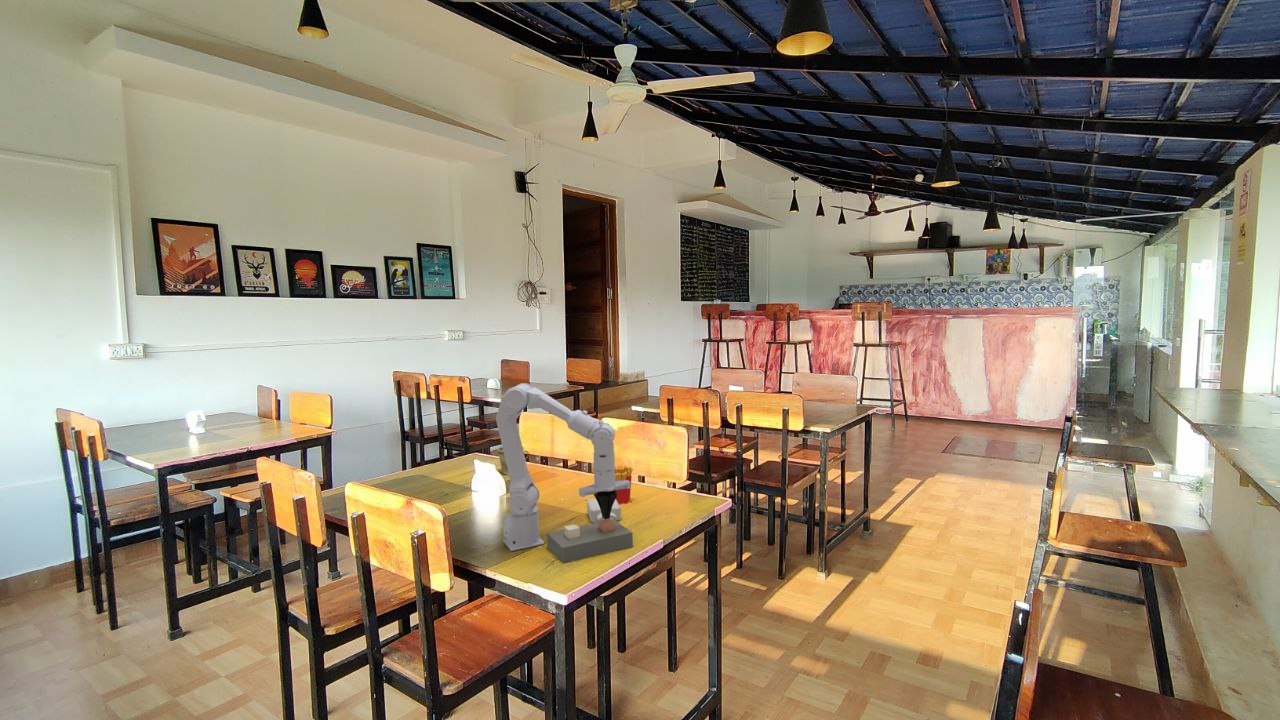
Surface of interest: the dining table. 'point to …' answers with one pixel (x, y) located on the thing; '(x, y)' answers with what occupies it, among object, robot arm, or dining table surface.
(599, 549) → the key box
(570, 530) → the offwhite key
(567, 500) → the dining table surface
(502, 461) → the ceramic cup
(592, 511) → the charger
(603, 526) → the terracotta key
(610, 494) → the robot arm
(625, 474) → the french fries
